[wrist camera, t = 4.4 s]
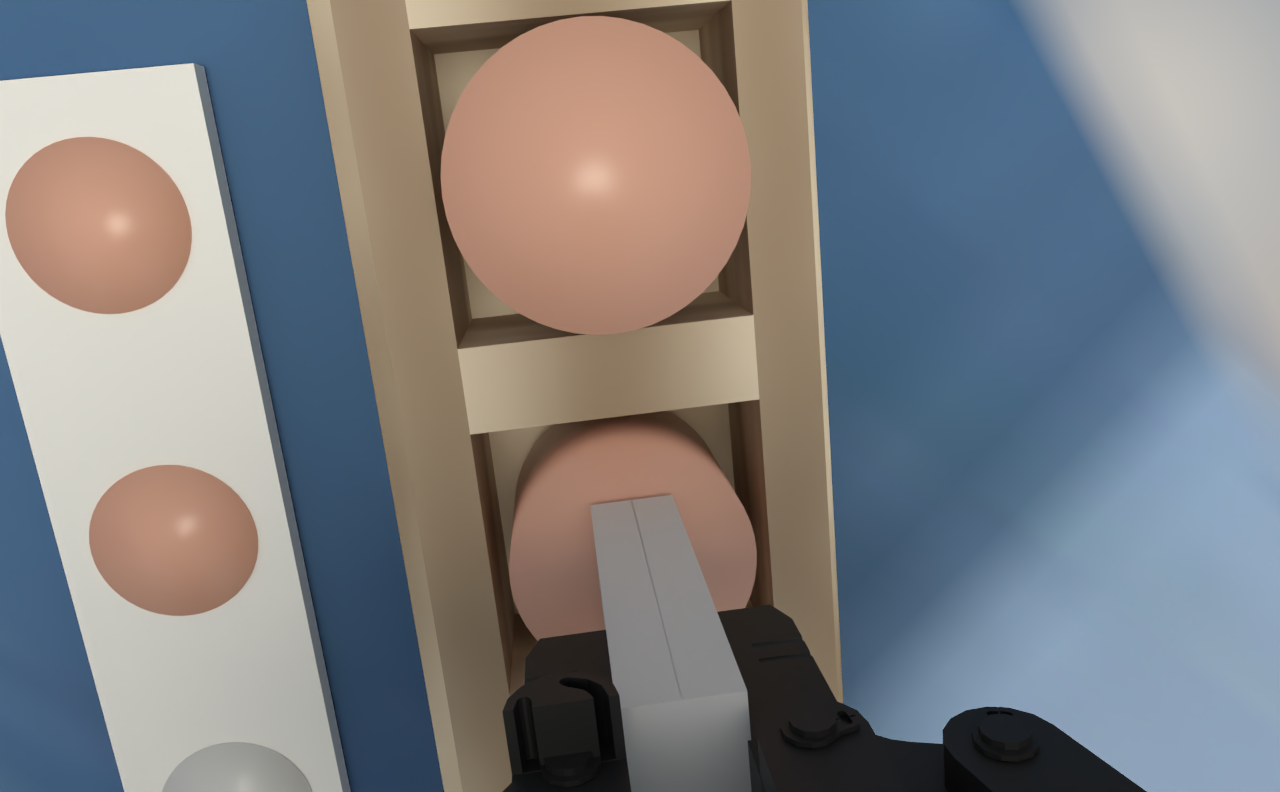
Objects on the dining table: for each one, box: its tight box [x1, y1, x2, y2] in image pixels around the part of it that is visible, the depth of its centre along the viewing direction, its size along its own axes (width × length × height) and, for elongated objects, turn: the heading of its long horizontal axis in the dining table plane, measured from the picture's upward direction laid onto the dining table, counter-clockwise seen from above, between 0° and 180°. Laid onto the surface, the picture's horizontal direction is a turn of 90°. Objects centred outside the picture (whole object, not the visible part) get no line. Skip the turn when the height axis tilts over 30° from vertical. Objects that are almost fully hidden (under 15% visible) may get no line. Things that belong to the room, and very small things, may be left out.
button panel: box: [307, 0, 843, 792], centre depth 20 cm, size 10×23×4 cm, turn 6°
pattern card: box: [0, 63, 351, 792], centre depth 21 cm, size 5×20×1 cm, turn 5°
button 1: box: [441, 16, 751, 335], centre depth 16 cm, size 5×5×4 cm
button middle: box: [509, 411, 757, 641], centre depth 19 cm, size 5×5×4 cm
